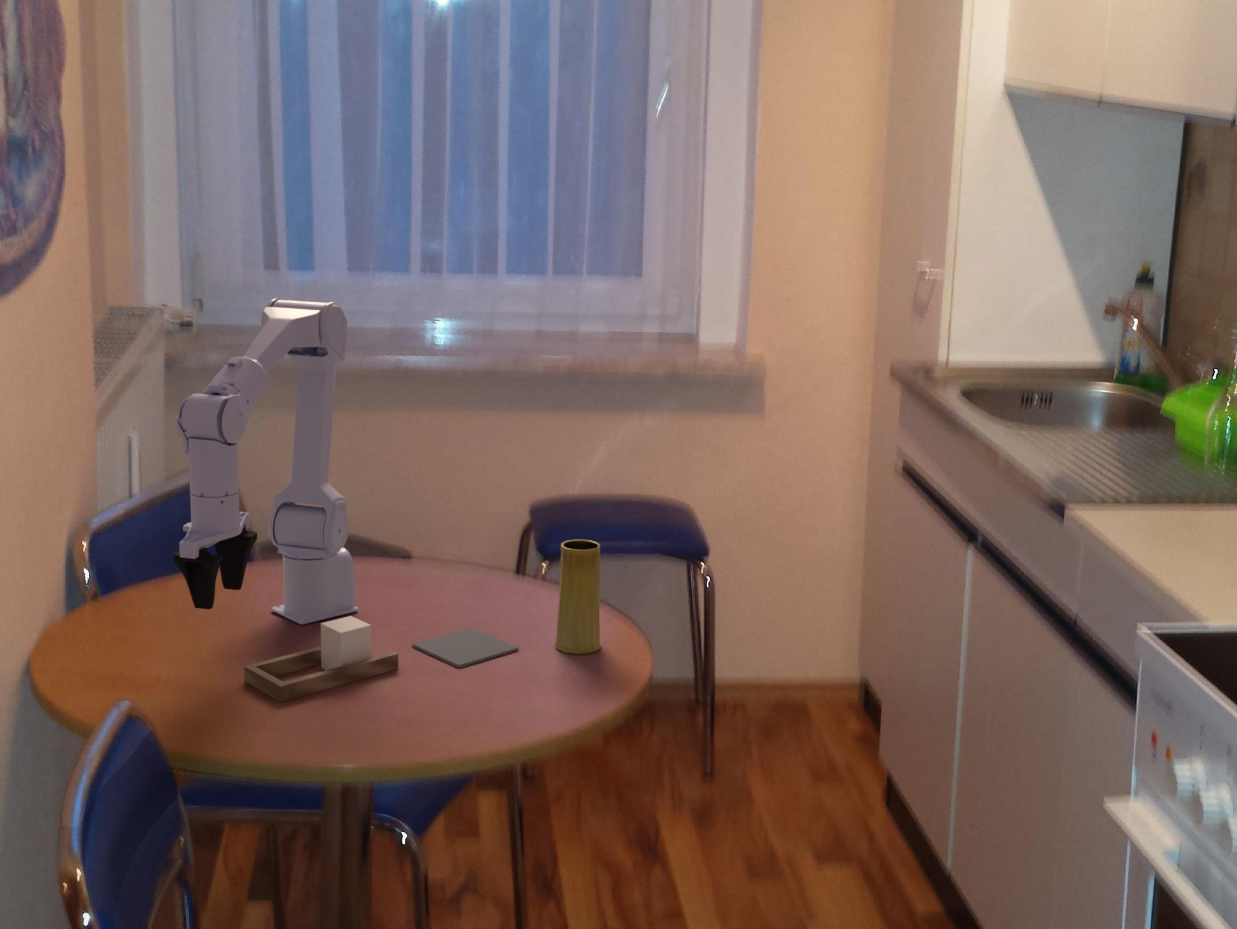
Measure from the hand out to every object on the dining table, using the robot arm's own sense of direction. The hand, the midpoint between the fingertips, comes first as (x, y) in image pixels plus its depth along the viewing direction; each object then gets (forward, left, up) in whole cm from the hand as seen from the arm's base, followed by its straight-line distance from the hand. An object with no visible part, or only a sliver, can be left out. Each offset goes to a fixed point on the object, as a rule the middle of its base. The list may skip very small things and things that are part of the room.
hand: (218, 598), depth 176 cm
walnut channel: (-9, +9, -10) cm, 16 cm away
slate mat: (-29, +13, -10) cm, 33 cm away
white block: (-13, +9, -10) cm, 18 cm away
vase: (-41, +22, -10) cm, 47 cm away
